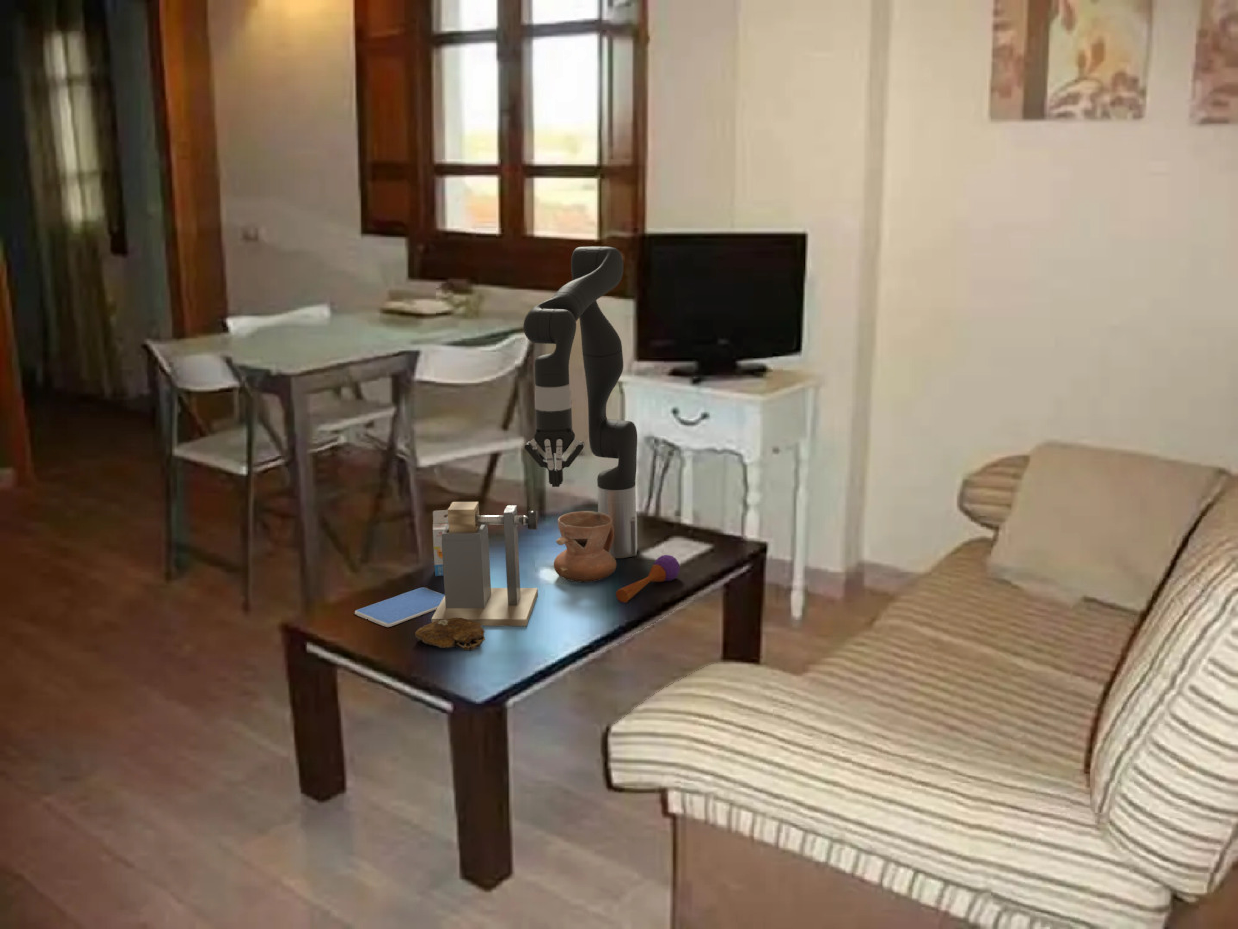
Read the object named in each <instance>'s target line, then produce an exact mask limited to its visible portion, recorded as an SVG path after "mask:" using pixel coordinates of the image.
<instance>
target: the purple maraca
mask: <svg viewBox="0 0 1238 929" xmlns="http://www.w3.org/2000/svg"><path fill="white" fill-rule="evenodd" d="M680 567H681V566H680V564H679V561H678V560H677V559H676V557H674V556H673V555H669V554H663V555H659V556H658V557H657V558H656V560H655V562H654V563H653V565H652V566H651V567H650V570H649V573H648V576H647V577H644V578H643V579H640V580H638V581H635V582H633V583H630V584H628V585H626V586H624V587H621V588H619V589H617V590H616V592H615V596H616V598H617V600H618V601H619V602H622V603H626V604H627V603H628V602H629V601H630V600H631V599H632V598H634V597H635V595H637V593H639V592H640V591H641V590H642V589H643V588H645V586H647V585H648V584H649V583H650V582H655V583H657V582H658V583H661V582H670V581H673V580H675V579H676V578H677V577H678V575H679V573H680Z"/></svg>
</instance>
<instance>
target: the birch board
mask: <svg viewBox="0 0 1238 929" xmlns="http://www.w3.org/2000/svg"><path fill="white" fill-rule="evenodd" d="M538 589H539V588H538V587H520V593H521V598H520V600H519V603H518V605H517V606H508V595H507V587H491V596H490V598H489V600H488V602H487V604H486V606H485V609H480V608H446V604H445V596H444V598H443V599H442V601H441V603H440V605H439V606H438V608H437V610H435V612H434V613H433V615H432V617H431V623H432V622H436V621H439V620H444V619H451V618H464V619H467V620H471V621H473V622H474V623H480V624H481V627H485V626H486V627H488V626H489V627H501V626H502V627H527V625H528V623H529V619H530V617H531V614H532V612H533V609H534V606H535V603H536V602H537V601H536V600H537V598H538V595H539V590H538Z"/></svg>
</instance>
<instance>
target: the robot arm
mask: <svg viewBox="0 0 1238 929" xmlns="http://www.w3.org/2000/svg"><path fill="white" fill-rule="evenodd" d="M570 270H571V281H568V282H567V283H566V284H564V285H562V286H561V287H560V288H559V289H558V290H557V291H556V292H555V293H554V295H553V296H552V297H551V298H549V299H547V300H545V301H544V300H543V301H542V302H541V303H539V304H537V305H534V307H532V308H531V309H530V310H529V311H528V312H527V314H526V316H525V318H524V320H523V325H522V326H523V332H524V335H525V337H526V339H527V340H529V342H532V343H534V344H541V345H542V344H547V345H555V349H554V351H553V352H552V353H547V354H546V353H545V354H542V355H540V356H538V357H536V358H535V359H534V383H535V385H534V387H535V388H534V411H535V412H534V414H535V416H534V417H535V432H534V434H533V438H532V439H531V440H530V441H527V442H526V443H525V445H524V449H525V451H526V452H527V453H528V454H529V455H530V456H531V458H532V459H533V460H534V461H535V462H536V463H537V464H538V466H539V467H541V468H545V469H547V470H548V484H550V485H551V487H552V488H560V486H561V485H562V484H563V481H564V472H563V471H564V469H565V468H569V467H571V465H572V464H573V462H574V461H575V460H576V458H577V457H578V456H579V454H580V453H581V452H583V450H584V447H585V442H584V441H582V440H581V441H580V440H579V439H578V438H576V435H575V432H574V430H573V414H572V413H573V410H572V403H573V400H572V393H571V386H570V360H571V359H570V358H571V353H572V348H573V345H574V344H573V343H574V339H575V335H576V331H577V321H578V320H579V327H580V336H581V349H582V351H581V352H582V362H583V369H584V375H585V382H586V383H585V384H586V393H587V406H588V407H587V408H588V409H587V410H588V413H587V414H588V416H587V417H588V420H587V421H588V440H589V441H588V442H589V447H590V450H591V453H592V454H593V455H594V456H596V457H598V458H604V459H617V460H618V462H617V466H615V467H612V468H608V469H605V470H603V471H601V472H599V474H598V475H597V477H596V478H597V480H596V482H597V483H596V484H597V486H596V487H597V512H601V513H604V514H606V515H609V516H610V517H611V519H612V523H611V526H612V527H613V530H614V536H613V542H612V545H611V548H610V551H609V553H610V554H611V555H612V556H613V557H614V558H615V559H624V558H629V557H636V556H637V552H638V513H637V496H636V494H637V492H636V490H637V489H636V485H637V483H636V480H637V479H636V476H637V469H638V468H637V463H638V462H637V458H638V457H637V456H638V454H637V453H638V431H637V427H636V425H635V423H634V422H633V421H630V420H622V419H621V420H619V419H608V418H607V403H608V400H609V399H610V396H611V394H612V392H613V390H614V389H615V386H616V385H617V383H618V382H619V380H620V378H621V376H622V374H623V369H624V354H623V346H622V340H621V338H620V335H619V334H618V332H617V331H616V329H615V327H614V326H613V325H612V323H611V322H610V321H609V320H608V319H607V317H606V316H605V315H604V313H603V311H602V310H601V307H600V306H599V305H598V302H597V300H599V299H600V298H601V297H603V296H604V295H605V294H607V293H608V292H610V291H611V290H613V289H615V288H616V287H617V286H618V285H619V284H620V282H621V281H622V278H623V275H624V260H623V255H622V253H621V251H620V250H619V249H617V248H616V247H611V246H579V247H576V248H575V249H574V250H573V252H572V255H571V260H570ZM571 445H572V451H571V453H570V454H569V455H568V457H567V458H566V459H564V455H565V452H567V451H568V449H569V448H570V446H571ZM538 447H539V448H540V449H541V450H542V451H543V452H544V453H545V457H546V458H545V457H544V455H543V454H542V453H541V452H540V450H538ZM555 455H556V456H555Z"/></svg>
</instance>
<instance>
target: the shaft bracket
mask: <svg viewBox="0 0 1238 929" xmlns="http://www.w3.org/2000/svg"><path fill="white" fill-rule="evenodd" d="M517 507H518V506H517V504H516V505H515V504H514V505H513V504H512V505H510V504H509V505H507V506H505V508H504V511H503V515H504V525H503V528H504V530H503V532H504V550H505V551H504V553H505V565H506V566H505V571H506V588H507V595H508V606H517V605H518V603H519V600H520V598H521V593H520V588H521V576H520V574H521V573H520V558H519V557H520V553H519V551H520V550H519V531H518V529H519V528H518V525H514V515H518V511H517V510H518V508H517Z"/></svg>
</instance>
